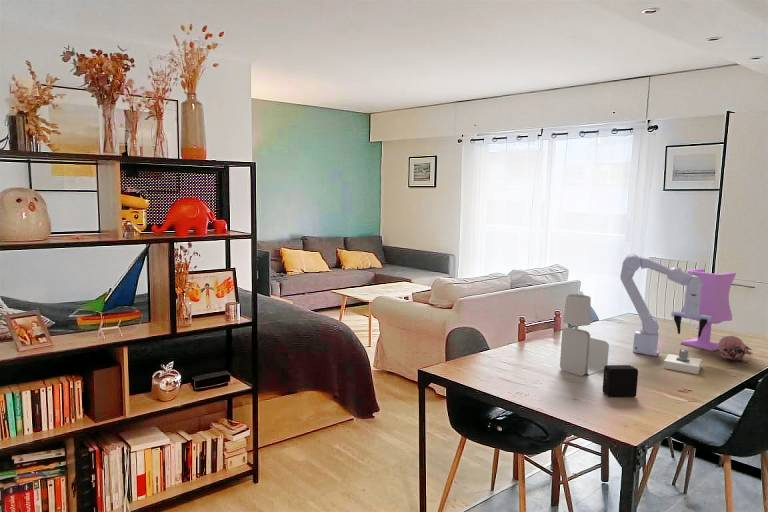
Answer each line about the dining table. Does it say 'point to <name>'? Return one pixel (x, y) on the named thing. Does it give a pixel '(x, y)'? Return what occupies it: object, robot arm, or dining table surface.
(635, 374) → the electronic device
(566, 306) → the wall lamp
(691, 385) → the dining table surface
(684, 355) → the peg
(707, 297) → the pink table lamp
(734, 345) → the toy
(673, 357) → the socket block
